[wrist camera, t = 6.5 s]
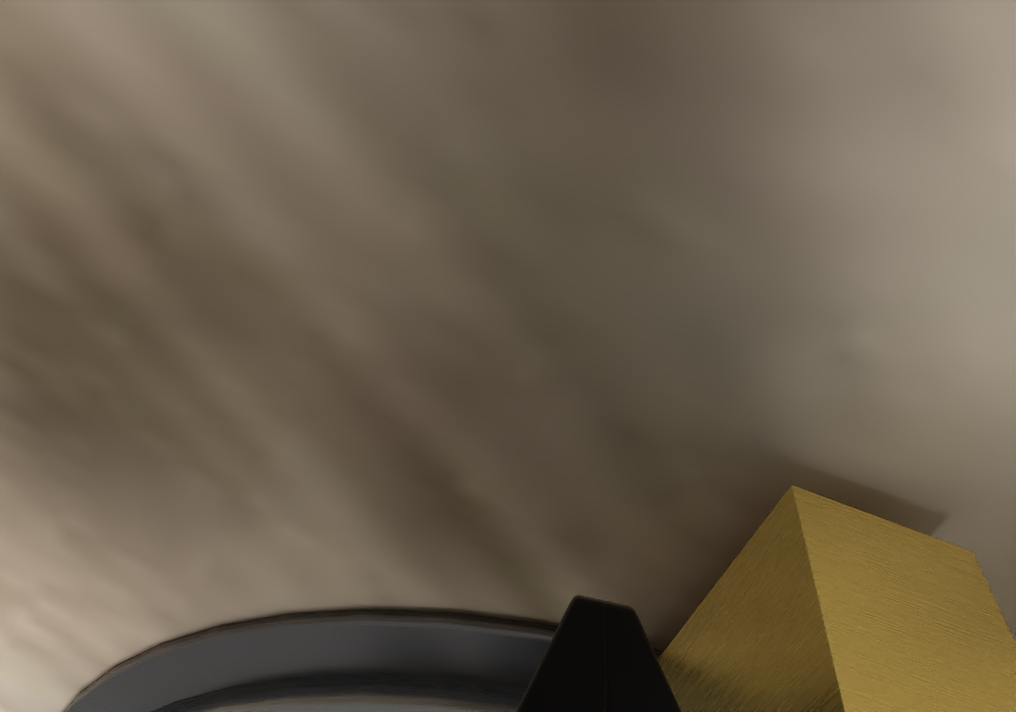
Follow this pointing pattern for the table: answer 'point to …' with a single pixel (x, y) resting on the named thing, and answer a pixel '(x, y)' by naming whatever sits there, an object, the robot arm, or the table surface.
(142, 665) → the turntable base
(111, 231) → the table surface
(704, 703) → the turntable
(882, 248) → the table surface
